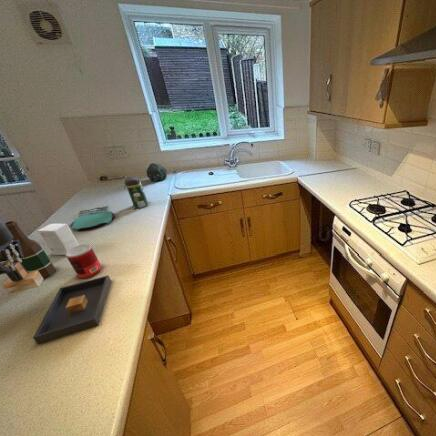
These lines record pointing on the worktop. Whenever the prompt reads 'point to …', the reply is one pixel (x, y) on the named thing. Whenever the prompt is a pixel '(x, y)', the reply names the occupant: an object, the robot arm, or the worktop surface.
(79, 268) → the canned food
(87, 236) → the worktop surface
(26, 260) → the beer bottle
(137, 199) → the coffee jar
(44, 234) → the small box
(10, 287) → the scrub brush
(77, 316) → the tray
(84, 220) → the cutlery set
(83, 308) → the orange brown wooden block
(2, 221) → the robot arm
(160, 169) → the squash
